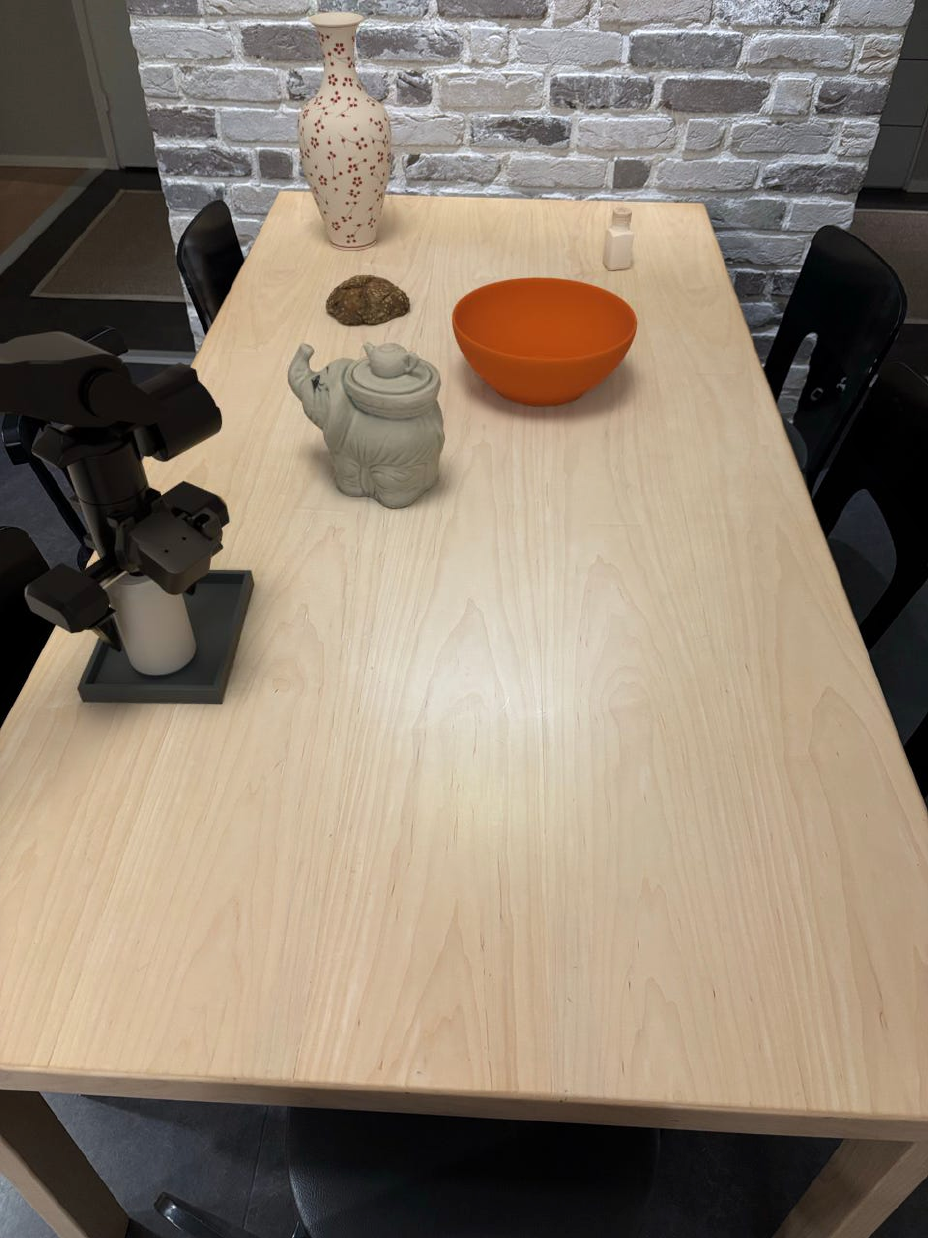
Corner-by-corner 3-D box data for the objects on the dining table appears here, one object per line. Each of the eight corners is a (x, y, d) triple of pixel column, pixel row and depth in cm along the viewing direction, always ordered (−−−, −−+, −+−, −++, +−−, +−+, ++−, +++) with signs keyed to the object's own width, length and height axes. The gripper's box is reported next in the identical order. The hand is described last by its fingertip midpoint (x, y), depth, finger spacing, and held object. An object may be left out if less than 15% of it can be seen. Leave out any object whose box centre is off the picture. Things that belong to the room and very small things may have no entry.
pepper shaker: (601, 262, 161) (607, 206, 155) (622, 260, 162) (629, 205, 156) (609, 271, 159) (615, 215, 152) (630, 269, 159) (638, 213, 153)
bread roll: (370, 285, 154) (368, 256, 150) (420, 308, 148) (419, 278, 144) (310, 309, 147) (307, 279, 144) (361, 334, 141) (358, 303, 138)
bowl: (571, 328, 143) (576, 265, 136) (663, 403, 126) (674, 336, 119) (424, 361, 135) (422, 295, 128) (501, 446, 118) (504, 376, 112)
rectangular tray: (222, 704, 86) (218, 690, 85) (82, 702, 86) (76, 688, 85) (254, 583, 99) (251, 569, 97) (132, 582, 99) (128, 568, 97)
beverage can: (164, 690, 87) (133, 596, 78) (116, 664, 89) (82, 570, 81) (211, 649, 91) (186, 556, 82) (164, 625, 93) (136, 532, 85)
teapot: (296, 459, 116) (276, 318, 103) (405, 432, 121) (399, 294, 108) (340, 532, 105) (324, 385, 92) (458, 499, 110) (458, 355, 97)
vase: (363, 266, 160) (347, 32, 136) (291, 247, 166) (262, 20, 142) (413, 235, 170) (406, 13, 146) (343, 219, 176) (325, 3, 152)
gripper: (89, 581, 67) (140, 719, 78) (260, 461, 78) (284, 596, 89) (-8, 531, 71) (53, 668, 82) (167, 424, 83) (201, 556, 93)
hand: (154, 620), depth 87 cm, fingers open, 9 cm apart
